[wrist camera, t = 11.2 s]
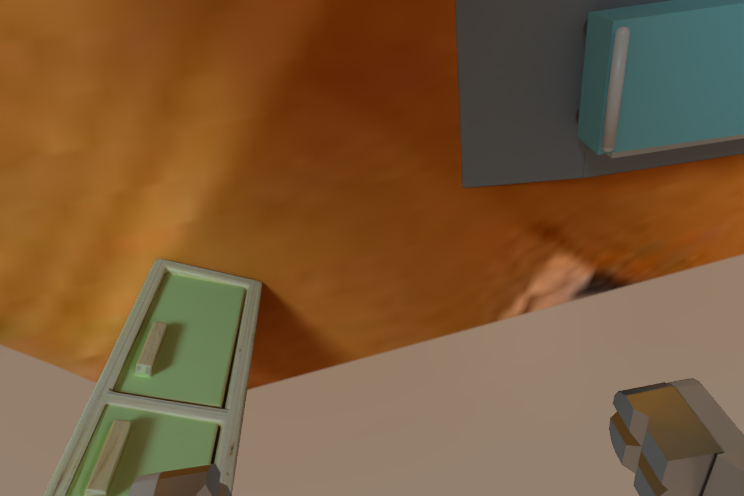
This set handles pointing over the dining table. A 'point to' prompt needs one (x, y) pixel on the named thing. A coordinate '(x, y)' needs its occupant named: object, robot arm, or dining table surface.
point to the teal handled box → (662, 75)
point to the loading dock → (539, 96)
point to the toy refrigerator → (167, 385)
